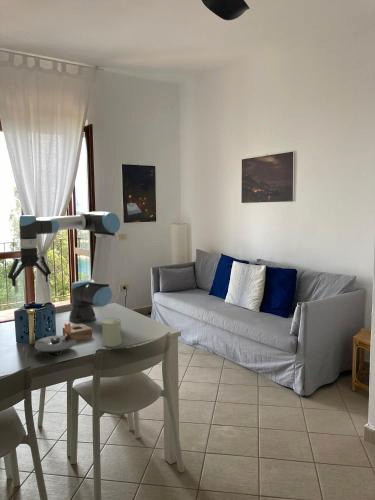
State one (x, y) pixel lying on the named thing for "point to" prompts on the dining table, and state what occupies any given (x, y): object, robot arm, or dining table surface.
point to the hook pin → (31, 325)
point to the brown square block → (80, 332)
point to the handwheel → (56, 341)
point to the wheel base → (55, 352)
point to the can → (111, 332)
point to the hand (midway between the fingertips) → (30, 290)
